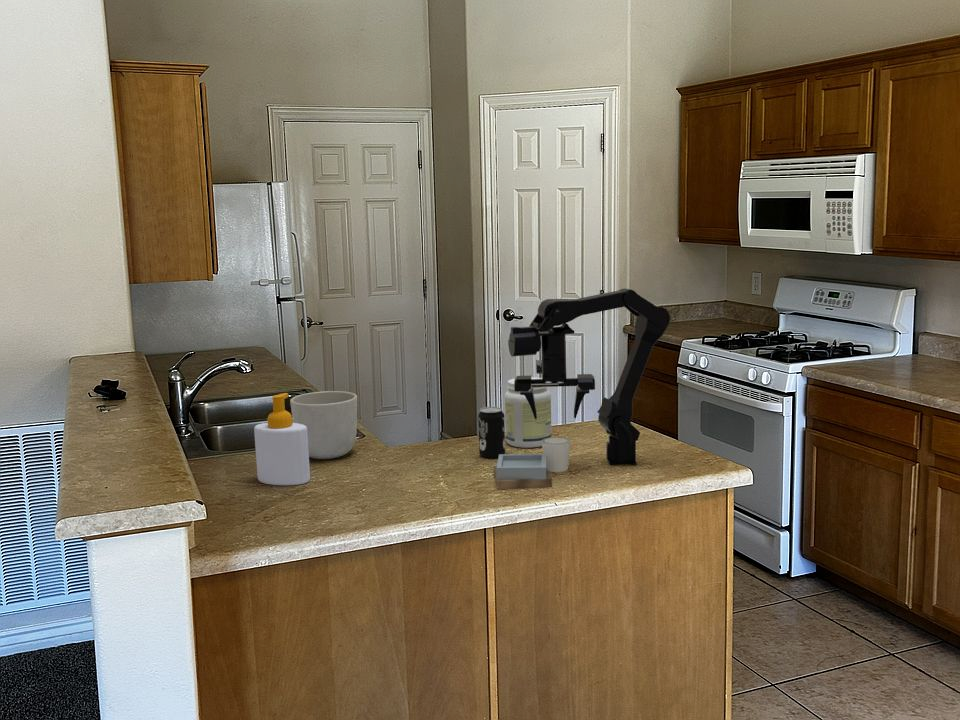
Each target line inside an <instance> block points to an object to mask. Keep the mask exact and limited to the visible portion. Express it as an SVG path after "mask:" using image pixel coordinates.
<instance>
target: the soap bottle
mask: <svg viewBox="0 0 960 720" xmlns="http://www.w3.org/2000/svg"><path fill="white" fill-rule="evenodd" d="M288 397H289V393H288V392H284V393H279V394H276V395H273V396H272V410H273V411H272V412H270V413H269V414H268V416H267V422H264V423H263V422H262V423H259V424H256V425H255V426H254V428H253V430H254V431H253V433H254V434H253V436H254V446H255V447H254V448H255V461H256V462H255V463H256V473H257V474H256V475H257V480H258V481H259V482H260V483H263V484H266V485H270V486H271V485H273V486H297V485H305V484H306V483H309V481H310V480H311V471H310V469H311V468H310V467H311V466H310V457H309V452H308V436H307V427H306V426H305V425H303V424H298V423H293V417H292V413H291V412H289V411H287V410H286V407H285V399H288Z"/></svg>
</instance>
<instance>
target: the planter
mask: <svg viewBox="0 0 960 720" xmlns="http://www.w3.org/2000/svg"><path fill="white" fill-rule="evenodd" d="M289 401H290V409H291V416H292V423H298V424H303V425H305V426H306V427H307V436H308V452H309V459H310V458H311V459H316V460H331V459H336V458H341V457H343V456H345V455H346V454H348V453H349V452H350V451H351V450H352V449H353V448H354V445H355V442H356V439H357V433H358V432H357V424H358V395H357V394H356V393H355V392H349V391H341V390H337V391H336V390H327V391H326V390H325V391H324V390H323V391H315V392H308V393H302V394H299V395H296V396H295V395H294V397H291V398H290V400H289Z"/></svg>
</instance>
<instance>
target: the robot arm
mask: <svg viewBox="0 0 960 720" xmlns="http://www.w3.org/2000/svg"><path fill="white" fill-rule="evenodd" d="M619 308H625V309H626V310H627V311H629V313H631V314H632V315H633V316H634V317H635V319H636V320H635V324H634V340H633V344H632V346H631V348H630V351H629V353H628V356H627V359H626V362H625V364H624V367H623V369H622V371H621V375H620V377H619V380H618V382H617V385H616V388H615V390H614V392H613V394H611V396H610V397H609V398H607V397H605V396H604V397H603V398H602V400H601V404H600V405H601V406H600V407H599V409H598V410H597V413H598V418H597V419H598V422H599V424H600V426H601V427H602V428H603V429H604V430H605V432H606V434H607V435H608V441H606V444H605V445H606V447H605V448H606V450H605V451H606V455H605V456H606V461H607V462H608V464H609V466H636V465H638V462H637V458H636V457H637V456H636V455H637V454H636V453H637V448H636V447H637V445H636V444H637V443H636V442H637V441H639V438H640V436H641V435H640V434H641V432H640V431H639V430H638V429H637V428H636V427H635V426H634V425H633V424H632V419H633V413H634V412H633V411H634V409H633V408H634V407H633V405H634V404H633V400H634V397H635V394H636V392H637V389H638V386H639V385H640V381H641V379H642V376H643V375H644V374H643V373H644V371H645V369H646V366H647V363H648V361H649V359H650V355H651V353H652V350H653V348H654V345H655V344H656V343H657V342H658V341H659V340H660V339H661V338H662V336H664V333H665V332H666V330H667V329H668V328H669V325H670V323H671V315H670V313H669V310H667V308H666V307H663V306H658V305H655V304H653V302H650V301H649V300H647V299H646V298H644V297H642V296H641V295H640V294H638V293H637V291H635V290H634V289H630V288H621V289H619V290H615V291H614V290H613V291H610V292H604V293H600V294H594V295H589V296H584V297H580V298H547V299H544V300H543V301H541V303H540V304H539V306H538V308H537V313H536V315H535V316H534V318H533V319H532V321H531V323H530V324H529V326H521V327H519V326H511V327H510V333H509V337H508V340H507V344H508V351H509V355H510V356H511V357H512V358H513V357H525V356H535V355H537V353H538V352H540V351H541V359H536V361H535V363H536V364H535V368H536V369H535V371H536V374H537V375H538V374H539V375H541V378H542V379H531V377H532V375H517V376H516V377H515V381H514V389H515V391H516V392H520V395H525V397H526V399H527V401H528V403H529V404H530V407H531V410H532V412H533V415H534V418H535V419H537V411H536V405H535V399H534V392H533V388H532V387H547V388H549V387H552V388H553V387H575V398H574V406H573V407H574V408H573V419H577V415H578V412H579V410H580V406H581V404H582V401H583V400H584V398H585V395H586V394H590V391H594V390H596V380H595V376H594V375H593V374H592V373H583V374H581V373H580V374H576V376H577V377H571V378H568V377H567V376H568V374H567V347H566V346H567V342H566V341H567V339H566V335H571V334H575V330H574V329H572V328H571V327H570V326H569V324H568V323H570V322H572V321H574V320H575V319H577V318H580V317H582V316H585V315H590V314H595V313H601V312H605V311H611V310H614V309H619ZM546 382H547V383H546Z"/></svg>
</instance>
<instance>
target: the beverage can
mask: <svg viewBox="0 0 960 720" xmlns="http://www.w3.org/2000/svg"><path fill="white" fill-rule="evenodd" d="M503 411H504V409H503V408H502V407H498V406H486V407H482V408H480V409H479V413H478V417H477V419H478V447H479V448H478V453H479V455H480V456H481V457H482V458H483V459H484V458H485V459H498V457H499V454H506V424H505V412H503Z"/></svg>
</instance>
